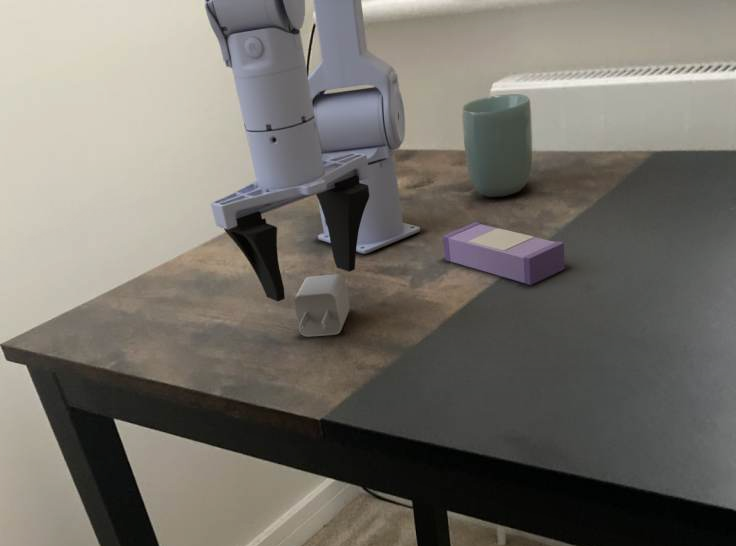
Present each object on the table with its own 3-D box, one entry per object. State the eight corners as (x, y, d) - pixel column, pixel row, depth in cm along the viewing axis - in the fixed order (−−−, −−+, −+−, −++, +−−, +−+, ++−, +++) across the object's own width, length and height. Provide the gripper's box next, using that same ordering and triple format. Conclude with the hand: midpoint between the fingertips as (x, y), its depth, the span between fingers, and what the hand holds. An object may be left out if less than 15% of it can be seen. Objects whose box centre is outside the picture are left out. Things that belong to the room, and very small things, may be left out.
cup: (539, 196, 103) (535, 104, 98) (471, 207, 104) (464, 116, 98) (529, 177, 110) (525, 90, 104) (466, 188, 110) (458, 101, 105)
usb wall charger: (351, 313, 84) (343, 273, 82) (337, 346, 79) (329, 304, 77) (310, 317, 85) (302, 277, 83) (294, 350, 80) (285, 308, 78)
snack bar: (445, 260, 92) (442, 235, 90) (477, 246, 94) (475, 221, 92) (530, 285, 83) (529, 258, 81) (564, 269, 85) (564, 242, 83)
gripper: (226, 152, 66) (265, 322, 74) (380, 101, 72) (402, 264, 80) (184, 143, 71) (225, 303, 79) (331, 96, 77) (356, 250, 85)
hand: (311, 282), depth 80 cm, fingers open, 7 cm apart
